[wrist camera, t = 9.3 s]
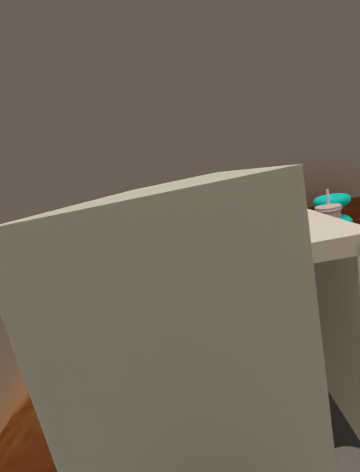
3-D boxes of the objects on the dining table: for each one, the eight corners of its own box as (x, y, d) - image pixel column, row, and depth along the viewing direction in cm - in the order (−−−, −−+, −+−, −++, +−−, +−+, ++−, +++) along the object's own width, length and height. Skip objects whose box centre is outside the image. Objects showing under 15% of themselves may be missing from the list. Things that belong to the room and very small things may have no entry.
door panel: (266, 454, 16) (217, 172, 13) (383, 885, 6) (302, 163, 3) (197, 463, 16) (133, 190, 13) (207, 886, 7) (-30, 231, 3)
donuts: (308, 200, 86) (318, 194, 93) (312, 232, 88) (321, 224, 95) (346, 197, 79) (353, 190, 86) (349, 231, 81) (356, 222, 88)
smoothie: (349, 238, 75) (344, 186, 72) (338, 245, 71) (333, 190, 68) (324, 237, 80) (319, 188, 77) (313, 244, 76) (308, 192, 74)
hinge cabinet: (318, 385, 31) (296, 205, 27) (715, 1048, 7) (1027, 428, 3) (194, 402, 32) (155, 232, 28) (202, 1027, 9) (-29, 542, 5)
